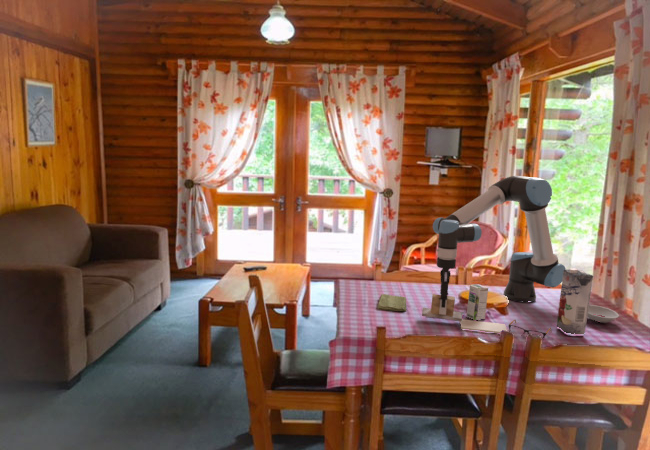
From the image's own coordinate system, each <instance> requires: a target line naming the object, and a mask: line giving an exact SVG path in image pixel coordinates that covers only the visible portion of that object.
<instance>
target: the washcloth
mask: <svg viewBox="0 0 650 450" xmlns="http://www.w3.org/2000/svg"><path fill="white" fill-rule="evenodd" d="M406 298H407V297H406V296H399V295H390V294H386V293H381V294H380V296H379V299H378V300H379V302H378V304H377V309H378V310H381V311H395V312H403V313H406V312H407V299H406Z"/></svg>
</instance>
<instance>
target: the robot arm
mask: <svg viewBox="0 0 650 450" xmlns="http://www.w3.org/2000/svg"><path fill="white" fill-rule="evenodd" d="M552 195H553V189H552V186H551V184H550V182H548V181H547V180H546V179H545V178H544V179H543V178H540V177H529V176H523V175H522V176H521V175H512V176H508V177H505V178H502V179H501V180H498V181H497V182H495V183H493V184H491V185H490V186H489V187H488V189H487V190H486V191H485V192H484V193H482V194H481V195H479V196H477V197H476V198H474V199H473V200H471V201H470V202H468V203H467V204H465V205H463V206H462V207H461V208H459V209H457V210H456V211H454V212H453V213H451V214H450V215H447V216H446V217H437V218H436V219H434V221H433V223H432V229H433V232H434V233H435V234H437V235H438V240H437V241H438V243H437V245H438V246H437V249H435V250H436V252H437V258H436V266H437V268H440V272H439V273H440V290H439V291H440V292H439V293H440V294H439V295H441V297H440V298H439V299H440V309H439V314H442V315H446V307H447V299H448V298H447V296H449V283H450V278H451V270H450V269H452V270H453V269H455V268H456V262H457V260H456V259H457V253H458V243H459V244H460V243H474V242H477V241H479V240H480V239H481V238H482V228H481V226H480V225H479V224H477V223H472V222H473V221H475V220H476V219H478V218H479V217H480V216H482V215H483V214H485V213H487V212H488V211H490V210H491V209H492V208H494V207H495V206H498V205H503V204H504V203H506V202H516V203H518V204H519V208H520V210H521V211H522V212H524V215H525V220H526V225H527V229H528V236H529V241H530V245H531V249H532V252H529V251H528V252H527V251H523V252H521V251H519V252H518V251H517V252H514V253H513V254H512V255H511V258H510V259H511V260H510V264H509V265H510V266H509V277H508V282H507V284H506V286H505V288H504V291H503V295H505V296H507V297H508V298H509V299H511V300H510V301H513V300H515V301H514V302H517V301H523V302H522V303H526V302H528V301H534V300H537V295H536V294H537V293H536V290H535V285H534V284H535V283H536V284H539V285H541V286H545V287H549V288H556V287H558V286H560V285H562V279H563V271H564V270H567V268H566V266H565V265H564V264H562V263H559V257H558V256H557V254H555V253H554V250H553V246H552V245H553V244H552V240H551V239H552V238H551V234H550V227H549V223H548V218H547V216H548V215H547V211H546V209H547V207H548V206H549V203H550V202H551V200H552ZM509 299H508V300H509ZM534 302H535V301H534Z"/></svg>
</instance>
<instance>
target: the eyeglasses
mask: <svg viewBox="0 0 650 450" xmlns="http://www.w3.org/2000/svg"><path fill="white" fill-rule="evenodd" d="M513 323H514V324H515V323H516V324H517V320H516V319H513V320H512V321H511V322H510V323H509V324H508V325H507V326H508V331H509V332H510V331H511V332H512V330H511V327H514V328H517V329H521V330H522V331H523V333H522V335H523V334H525V333H527V335H528V334H529V332H533V330H530V329H529V330H527V329H524V328H522V327H520V326H517V325H513ZM551 330H552V327H549V328H548V330H547V331H546V332H543V331H538V330H534V332H535V333H536V332H537V333H540V334H542V336H543V337H542V339H543V338H545V337H546V336H547V335H548V333H549V332H550V331H551ZM529 335H530V334H529Z"/></svg>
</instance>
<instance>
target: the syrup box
mask: <svg viewBox="0 0 650 450" xmlns="http://www.w3.org/2000/svg"><path fill="white" fill-rule="evenodd" d="M488 292H489V287H487V286H484V285H481V284H477V283H476V284H470V285H469V291H468V300H467V309H466V318H468V317H469V319H470V318H471V319H470V320H472V319H473V320H472V321H474V320H478V321H480V320H479V319H486V313H487V305H488V304H487V303H488V302H487V301H488V294H489V293H488Z"/></svg>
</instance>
